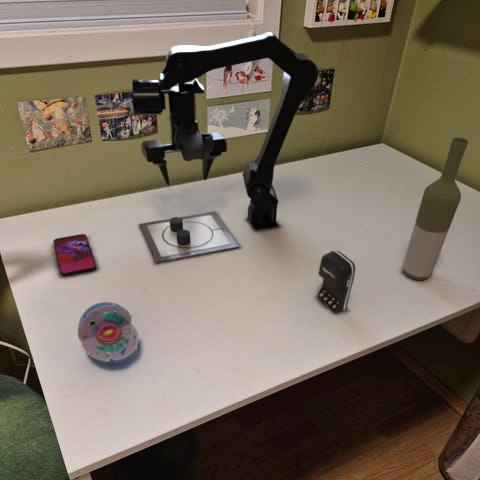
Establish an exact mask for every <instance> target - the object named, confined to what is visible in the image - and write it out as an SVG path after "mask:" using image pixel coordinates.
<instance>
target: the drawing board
mask: <svg viewBox="0 0 480 480" xmlns="http://www.w3.org/2000/svg"><path fill="white" fill-rule="evenodd" d="M178 217H179V218H182V220H183V230H188V231H189V232H190V240H191V242H190V244H188V245H185V246H183V245H179V244H178V243H177V232H172V231H171V230H170V219H171V218H167V219H161V220H155V221H149V222H143V223H139V227H140V229H141V231H142V233H143V236H144V238H145V240H146V243H147V245H148V247H149V249H150V251H151V253H152V256H153V259H154V260H155V263H156V264H161V263H166V262H170V261H176V260H181V259H187V258H192V257H197V256H203V255H209V254H214V253H219V252H224V251H230V250H234V249H239V248H240V246H239V245H238V243H237V241H236V240H235V238H234V237H233V236H232V234H231V233H230V232H229V230H228V229H227V227H226V226H225V224H224V223H223V222H222V221H221V219H220V217H219V215H217V213H216V211H211V212H206V213H205V212H204V213H198V214H193V215H187V216H178Z"/></svg>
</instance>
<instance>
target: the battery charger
mask: <svg viewBox="0 0 480 480" xmlns="http://www.w3.org/2000/svg"><path fill="white" fill-rule="evenodd" d="M318 275H319V277H321V278H322V284H321V286H320V288H319V291H318V294H317V299H318V300H319V301H320V302H321V303H322V304H323V305H325V306H326V307H327V308H328V309H329V310H330V311H332V312H334V313H340V312H342V311H345V310H347V307H348V303H349V299H350V295H351V291H352V288H353V284H354V279H355V275H356V265H355V263H354V261H353V260H352V259H350V258H349V257H348V256H346V254H344V253H342V252H341V251H339V250H331V251H330V252H327V253H324V254H323V256H322V257H321V259H320V263H319V268H318Z"/></svg>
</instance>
